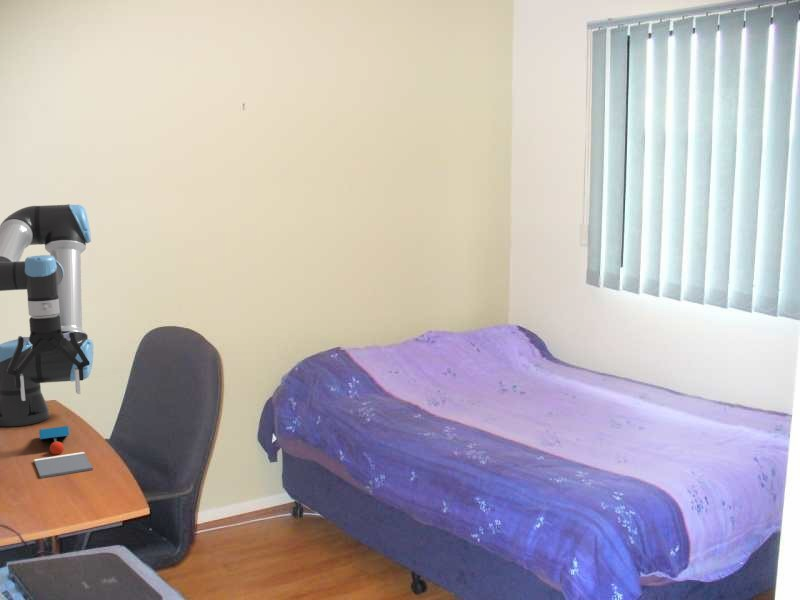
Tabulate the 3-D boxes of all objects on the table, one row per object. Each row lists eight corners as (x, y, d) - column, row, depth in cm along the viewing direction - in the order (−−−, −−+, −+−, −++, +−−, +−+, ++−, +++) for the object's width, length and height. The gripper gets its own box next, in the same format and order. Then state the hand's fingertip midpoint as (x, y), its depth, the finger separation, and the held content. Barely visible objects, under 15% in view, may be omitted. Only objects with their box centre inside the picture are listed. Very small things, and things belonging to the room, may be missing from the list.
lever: (41, 456, 265) (43, 456, 248) (39, 430, 266) (40, 429, 249) (68, 452, 268) (71, 452, 251) (65, 427, 268) (69, 425, 252)
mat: (34, 461, 245) (33, 459, 245) (84, 454, 250) (83, 451, 250) (40, 478, 233) (40, 475, 232) (92, 469, 238) (92, 467, 238)
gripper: (-7, 322, 244) (0, 405, 247) (96, 313, 255) (102, 393, 258) (-9, 318, 251) (-2, 399, 254) (92, 309, 262) (98, 387, 265)
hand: (51, 396), depth 256 cm, fingers open, 13 cm apart
